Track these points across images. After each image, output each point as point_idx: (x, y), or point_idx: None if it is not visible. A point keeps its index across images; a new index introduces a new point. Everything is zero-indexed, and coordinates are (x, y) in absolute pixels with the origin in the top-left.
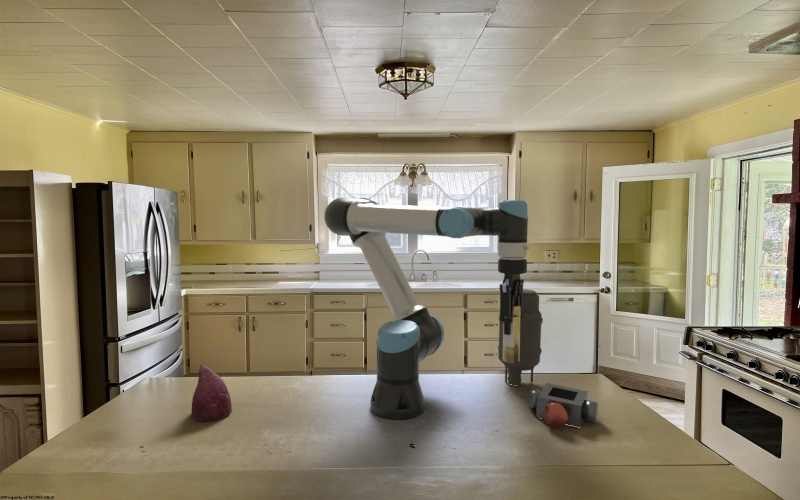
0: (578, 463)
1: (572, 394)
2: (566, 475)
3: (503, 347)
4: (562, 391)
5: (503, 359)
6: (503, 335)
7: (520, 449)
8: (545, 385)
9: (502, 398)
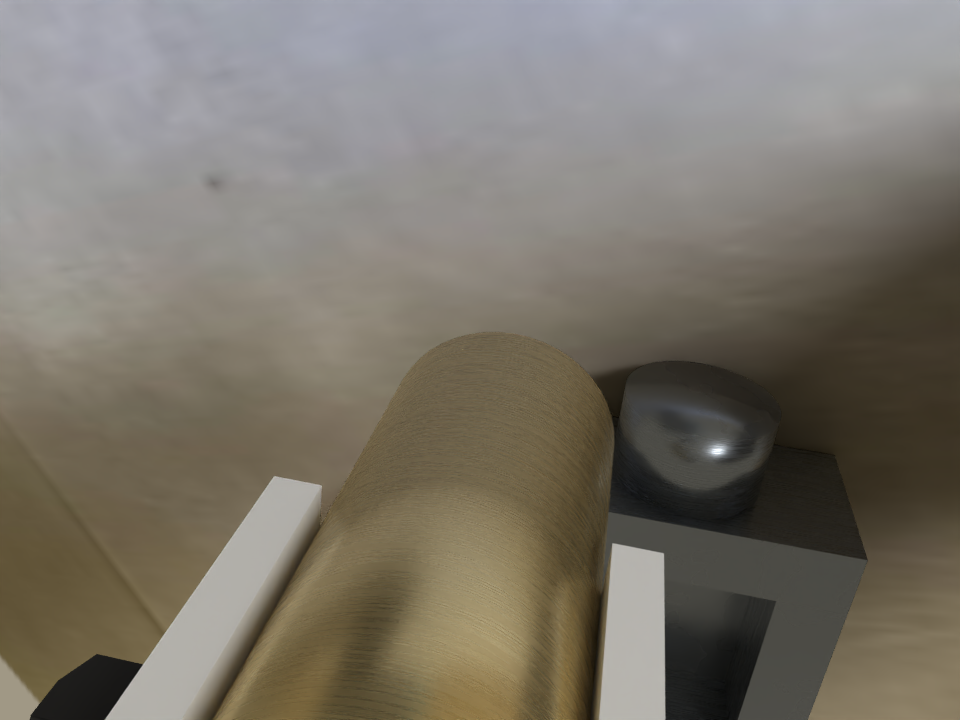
0: (142, 589)
1: (736, 694)
2: (17, 542)
3: (380, 446)
4: (756, 644)
5: (426, 360)
6: (190, 605)
7: (94, 348)
8: (796, 549)
9: (822, 116)
